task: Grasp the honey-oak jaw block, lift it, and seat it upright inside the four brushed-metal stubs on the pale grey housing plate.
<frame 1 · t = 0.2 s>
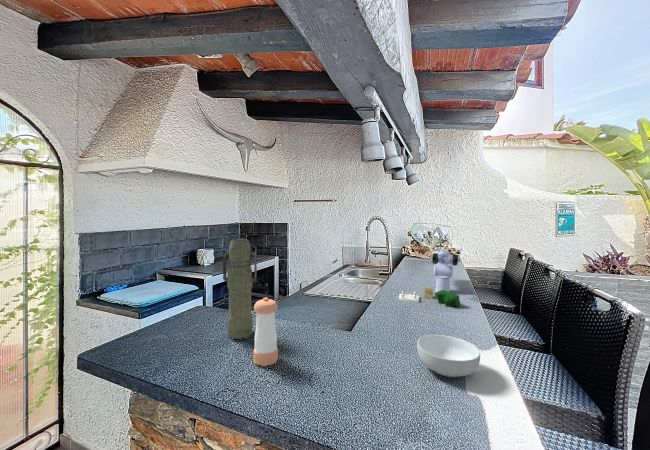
hand: (445, 260, 149), 21 cm above the countertop, tool horizontal, fingers open, 7 cm apart
housing plate: (408, 298, 156), on the countertop
pepper shaker: (265, 360, 90), on the countertop
cereal bowl: (446, 370, 85), on the countertop
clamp: (446, 305, 147), on the countertop
jaw block: (428, 297, 158), on the countertop
thermos: (240, 335, 108), on the countertop
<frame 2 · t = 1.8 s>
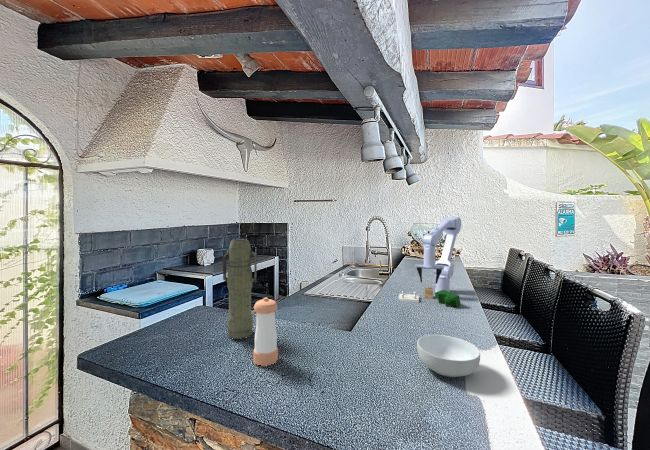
hand: (428, 282, 158), 8 cm above the countertop, tool pointing down, fingers open, 7 cm apart
nothing on the countertop moved.
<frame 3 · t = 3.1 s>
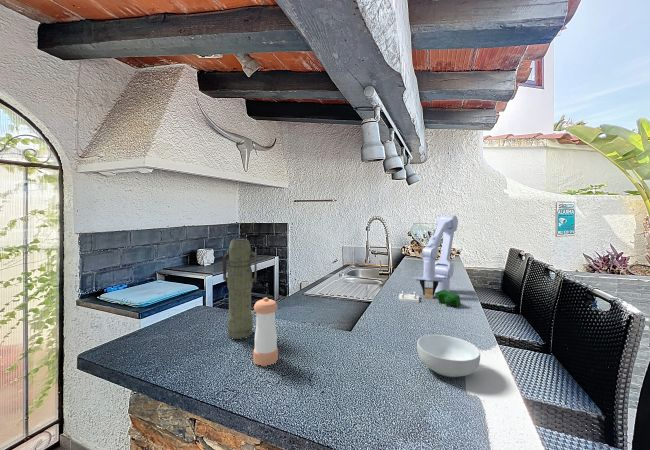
hand: (428, 294, 158), 1 cm above the countertop, tool pointing down, fingers closed on jaw block, 4 cm apart
jaw block: (428, 297, 158), on the countertop, touching gripper
everything else where it was.
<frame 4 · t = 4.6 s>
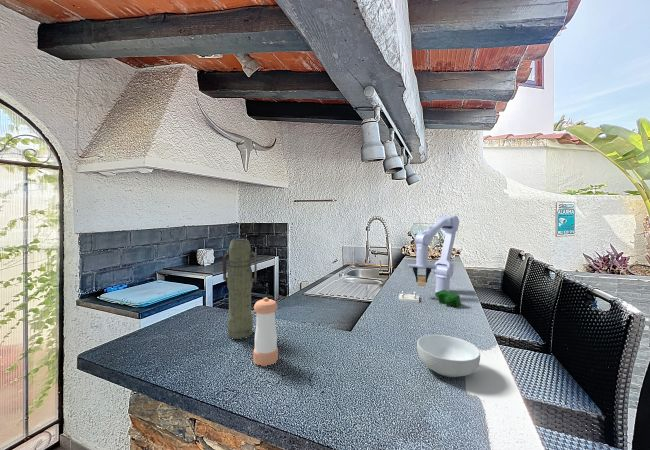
hand: (421, 282, 157), 9 cm above the countertop, tool pointing down, fingers closed on jaw block, 4 cm apart
jaw block: (421, 285, 157), point 7 cm above the countertop, touching gripper
everything else where it was.
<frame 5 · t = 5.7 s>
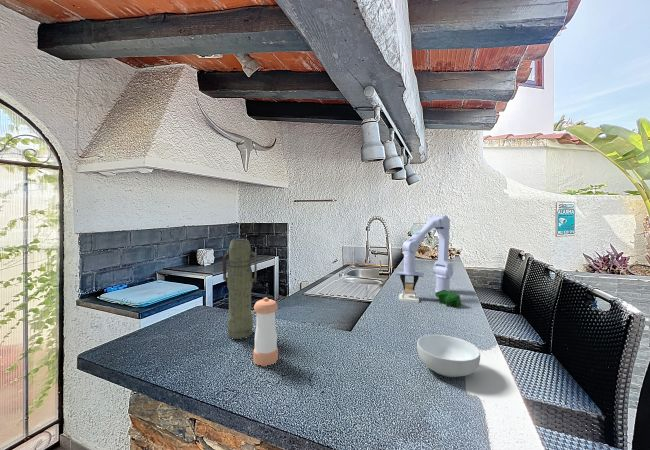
hand: (408, 289, 155), 5 cm above the countertop, tool pointing down, fingers closed on jaw block, 4 cm apart
jaw block: (408, 292, 155), point 3 cm above the countertop, touching gripper
everything else where it was.
when the fingers open (4 cm above the countertop, at t = 6.3 s): jaw block stays where it is, resting on housing plate.
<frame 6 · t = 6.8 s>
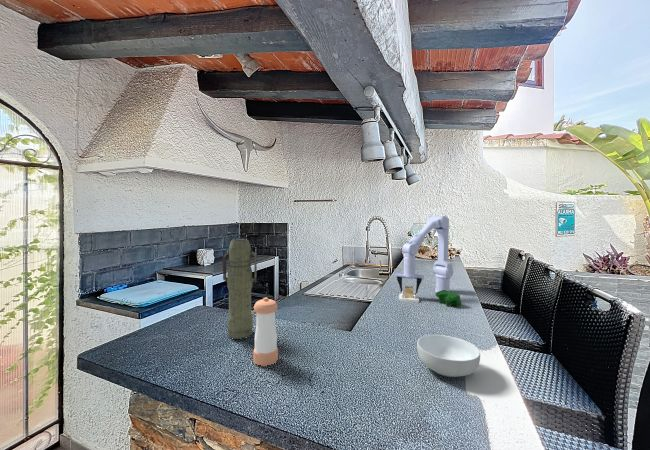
hand: (408, 292, 155), 4 cm above the countertop, tool pointing down, fingers open, 7 cm apart
jaw block: (408, 296, 155), point 1 cm above the countertop, touching housing plate
everything else where it was.
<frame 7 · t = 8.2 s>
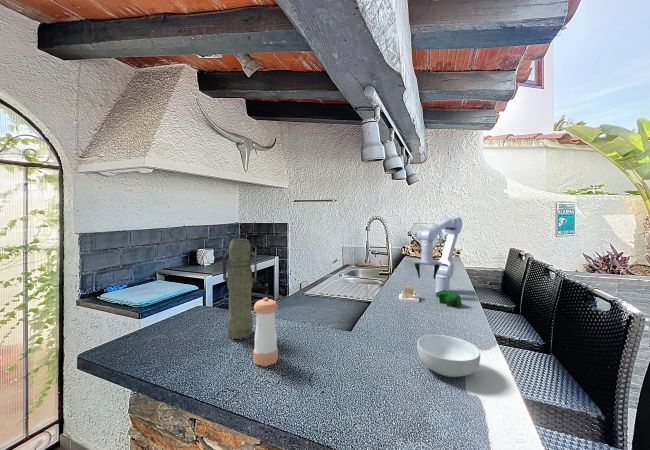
hand: (426, 278, 158), 10 cm above the countertop, tool pointing down, fingers open, 7 cm apart
nothing on the countertop moved.
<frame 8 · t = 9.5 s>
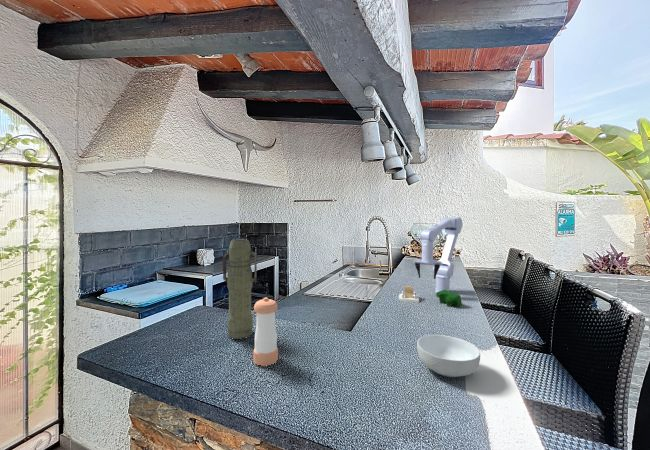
hand: (426, 278, 158), 10 cm above the countertop, tool pointing down, fingers open, 7 cm apart
nothing on the countertop moved.
at the end: jaw block 0.1 cm off-centre on the housing plate, point 1.2 cm above the housing plate's base; jaw block tilted 0°; the gripper is holding nothing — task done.
